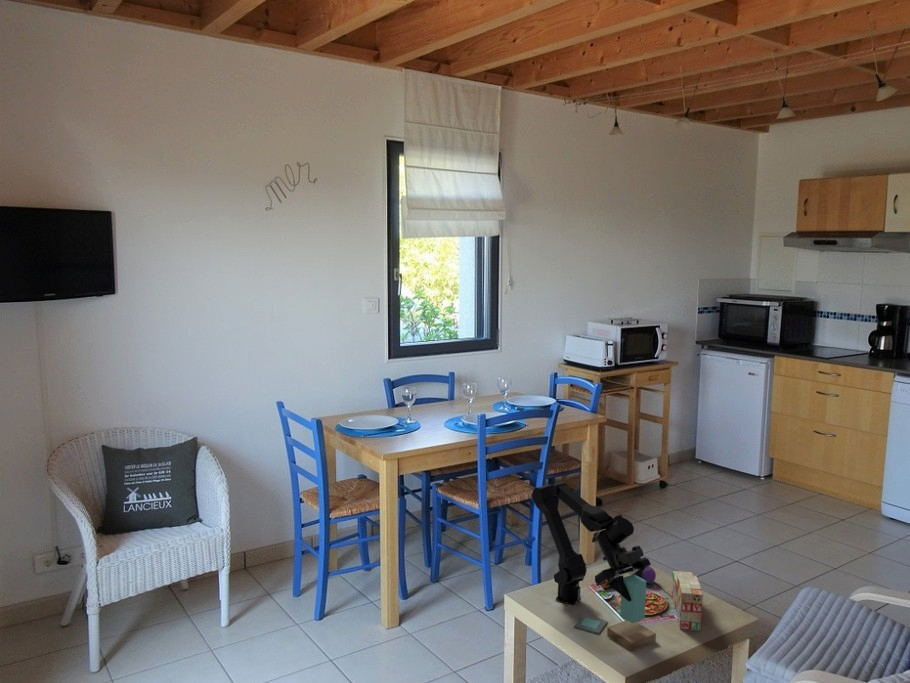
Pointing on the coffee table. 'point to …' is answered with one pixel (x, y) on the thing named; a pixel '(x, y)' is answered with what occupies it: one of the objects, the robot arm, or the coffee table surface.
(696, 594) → the stack of blocks
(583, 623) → the slate tile
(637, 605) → the teal pillar
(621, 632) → the walnut slab
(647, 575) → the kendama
